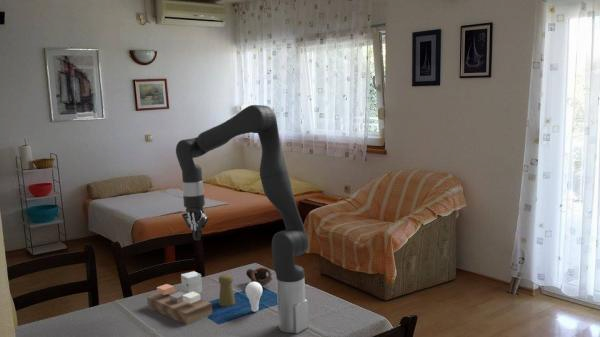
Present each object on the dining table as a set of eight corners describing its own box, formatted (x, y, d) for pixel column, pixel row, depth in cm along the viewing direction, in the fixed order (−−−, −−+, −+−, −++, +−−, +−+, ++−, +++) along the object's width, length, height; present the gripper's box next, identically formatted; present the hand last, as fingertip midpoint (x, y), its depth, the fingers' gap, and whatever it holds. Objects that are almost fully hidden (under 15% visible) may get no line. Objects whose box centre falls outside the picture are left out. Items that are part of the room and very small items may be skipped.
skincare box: (181, 292, 207) (180, 274, 206) (195, 287, 211) (194, 270, 210) (189, 296, 202) (187, 278, 201) (202, 292, 206) (201, 274, 205)
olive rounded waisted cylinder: (236, 299, 197) (235, 272, 195) (233, 306, 191) (231, 277, 189) (221, 299, 197) (219, 272, 196) (217, 306, 191) (215, 277, 190)
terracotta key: (174, 291, 194) (173, 286, 193) (164, 295, 190) (163, 290, 190) (167, 288, 196) (166, 283, 196) (157, 292, 193) (156, 287, 193)
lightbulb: (253, 306, 190) (251, 278, 188) (266, 310, 187) (265, 280, 185) (243, 313, 185) (241, 283, 183) (257, 316, 182) (255, 286, 180)
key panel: (212, 313, 185) (211, 303, 185) (187, 324, 177) (186, 313, 176) (172, 298, 201) (172, 288, 200) (147, 307, 193) (147, 297, 192)
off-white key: (200, 299, 183) (200, 294, 183) (190, 303, 180) (190, 298, 179) (193, 296, 186) (192, 291, 186) (182, 300, 183) (182, 295, 182)
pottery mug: (276, 282, 215) (276, 269, 210) (266, 299, 208) (265, 286, 203) (251, 272, 219) (250, 259, 214) (240, 288, 212) (238, 275, 207)
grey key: (187, 299, 188) (187, 294, 188) (177, 303, 185) (176, 298, 185) (180, 296, 191) (179, 291, 191) (170, 300, 188) (169, 295, 188)
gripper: (213, 193, 188) (216, 239, 190) (190, 190, 196) (193, 234, 198) (197, 196, 182) (200, 244, 184) (173, 193, 190) (177, 239, 193)
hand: (197, 239), depth 191 cm, fingers closed
